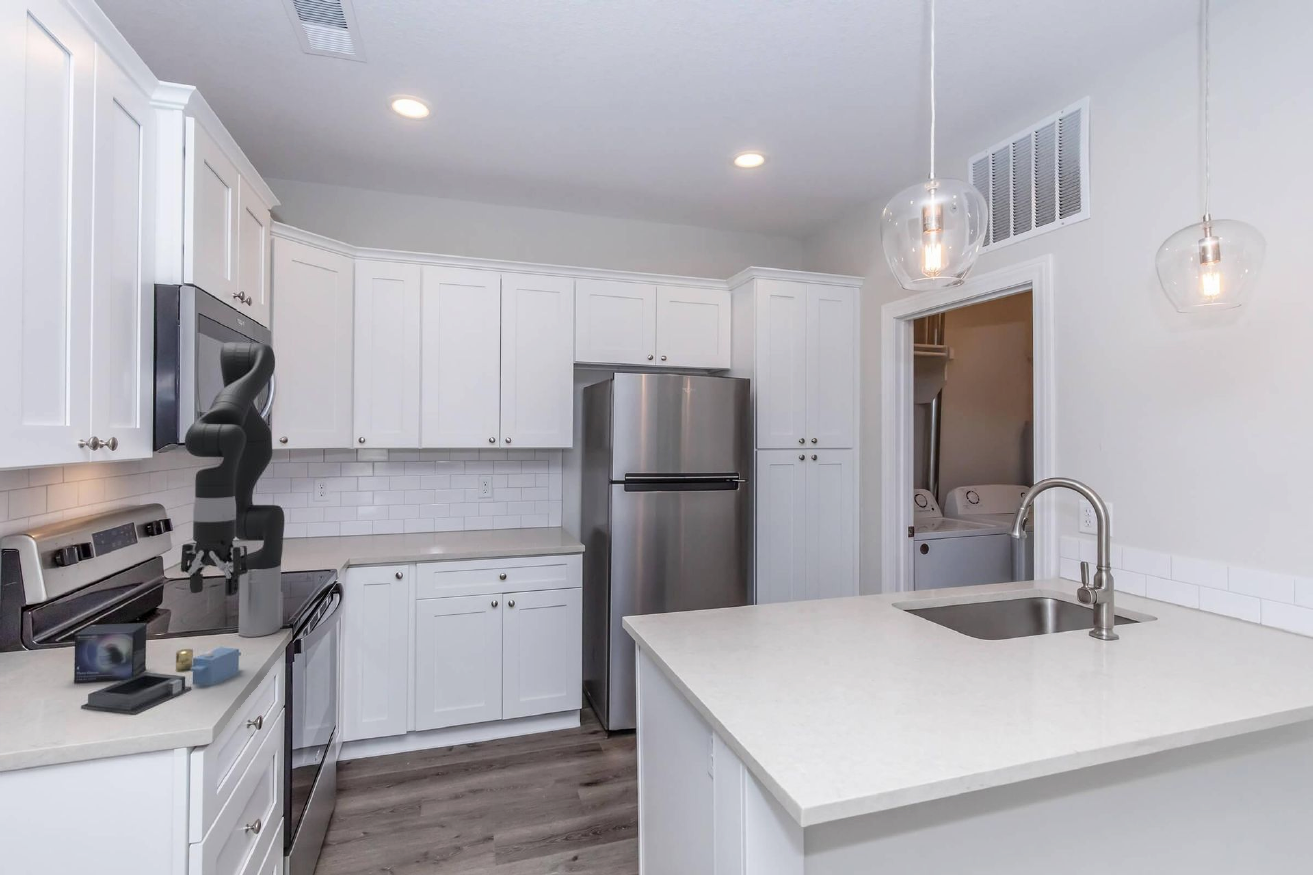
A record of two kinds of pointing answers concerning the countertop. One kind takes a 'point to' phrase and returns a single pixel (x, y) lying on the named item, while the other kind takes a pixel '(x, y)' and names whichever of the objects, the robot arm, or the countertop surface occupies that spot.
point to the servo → (215, 666)
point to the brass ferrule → (184, 660)
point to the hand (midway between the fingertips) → (213, 593)
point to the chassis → (137, 693)
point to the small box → (110, 652)
